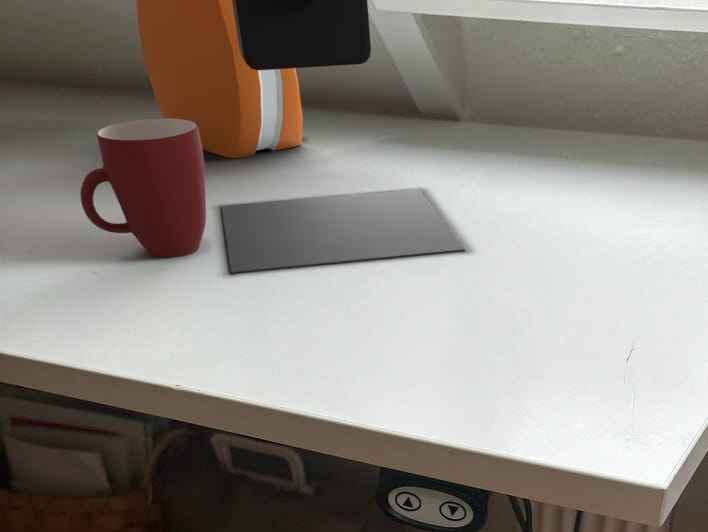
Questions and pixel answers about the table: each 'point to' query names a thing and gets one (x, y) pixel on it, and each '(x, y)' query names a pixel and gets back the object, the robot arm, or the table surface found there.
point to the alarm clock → (216, 79)
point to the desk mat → (334, 231)
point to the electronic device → (302, 33)
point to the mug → (153, 183)
